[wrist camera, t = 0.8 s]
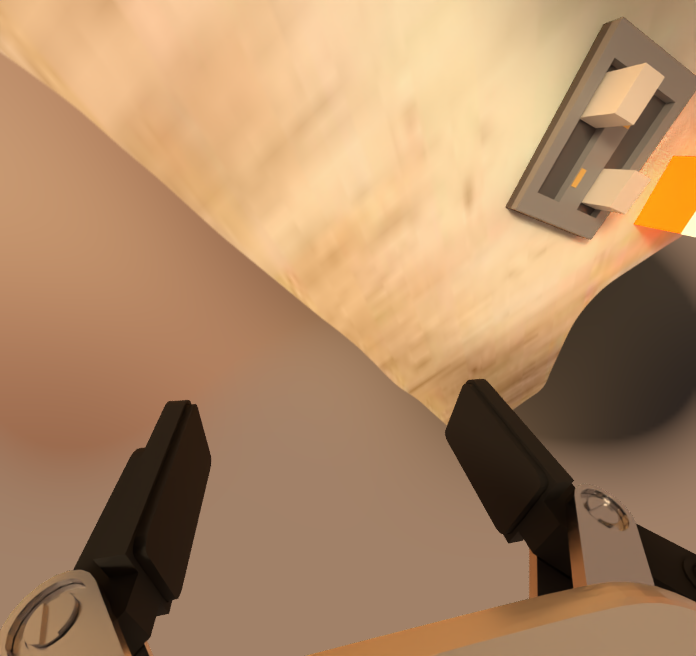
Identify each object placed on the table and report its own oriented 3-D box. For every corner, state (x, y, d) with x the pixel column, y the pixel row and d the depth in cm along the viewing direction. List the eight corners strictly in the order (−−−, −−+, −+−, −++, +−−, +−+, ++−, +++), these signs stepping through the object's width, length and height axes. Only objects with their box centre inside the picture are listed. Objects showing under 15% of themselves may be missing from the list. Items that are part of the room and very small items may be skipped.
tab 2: (599, 168, 35) (635, 170, 32) (615, 176, 36) (651, 179, 33) (578, 201, 37) (609, 207, 34) (593, 208, 38) (625, 214, 35)
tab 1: (603, 73, 30) (646, 62, 26) (620, 85, 31) (664, 77, 27) (577, 117, 32) (615, 113, 28) (595, 128, 33) (633, 125, 29)
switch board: (603, 24, 29) (624, 16, 27) (681, 84, 33) (703, 81, 32) (505, 206, 37) (516, 209, 35) (578, 236, 41) (591, 239, 40)
